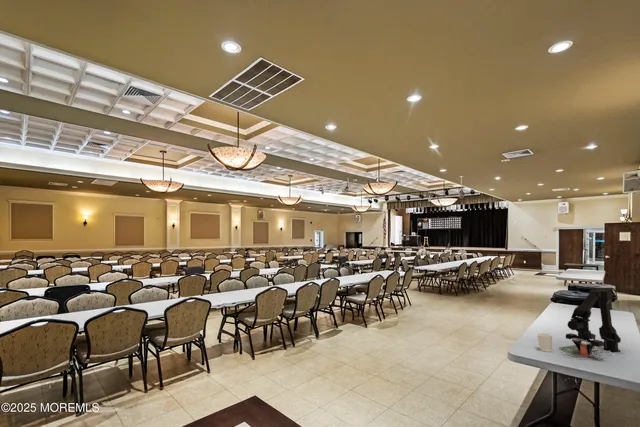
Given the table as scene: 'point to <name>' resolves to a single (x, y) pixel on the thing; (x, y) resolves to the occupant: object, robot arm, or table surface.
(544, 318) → the table surface
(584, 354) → the cap
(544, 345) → the white cup
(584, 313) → the robot arm
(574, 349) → the frame
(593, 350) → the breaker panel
